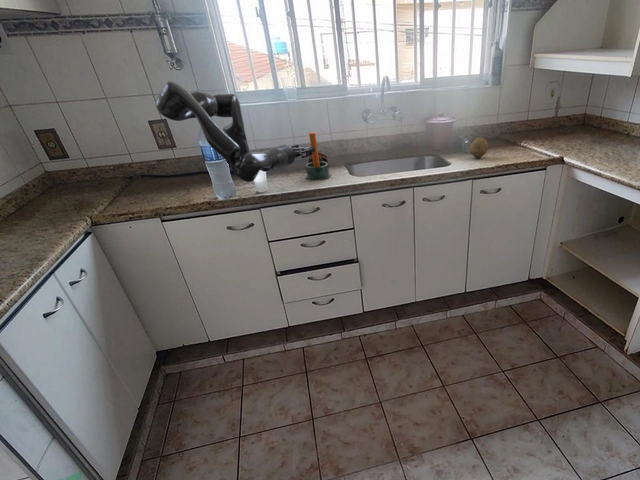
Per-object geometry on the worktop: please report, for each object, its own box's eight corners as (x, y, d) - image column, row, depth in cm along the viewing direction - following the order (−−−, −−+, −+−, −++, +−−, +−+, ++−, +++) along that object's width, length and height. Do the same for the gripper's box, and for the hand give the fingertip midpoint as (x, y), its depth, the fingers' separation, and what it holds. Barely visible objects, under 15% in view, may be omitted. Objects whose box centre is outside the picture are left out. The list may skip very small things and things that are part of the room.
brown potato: (488, 160, 189) (490, 139, 183) (470, 161, 189) (472, 139, 184) (485, 156, 197) (487, 135, 191) (468, 156, 197) (469, 135, 191)
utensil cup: (304, 179, 172) (302, 167, 168) (311, 173, 180) (309, 161, 176) (325, 180, 170) (324, 167, 167) (332, 173, 178) (330, 161, 175)
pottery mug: (304, 167, 191) (309, 150, 190) (323, 173, 195) (327, 157, 194) (309, 166, 180) (314, 148, 179) (328, 173, 185) (333, 156, 183)
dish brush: (311, 176, 173) (304, 133, 163) (314, 173, 177) (308, 131, 167) (321, 176, 172) (315, 133, 162) (324, 173, 176) (319, 131, 166)
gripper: (268, 165, 156) (294, 155, 168) (295, 168, 151) (320, 158, 163) (264, 145, 152) (291, 137, 164) (292, 148, 147) (318, 139, 158)
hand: (306, 148), depth 163 cm, fingers open, 8 cm apart
